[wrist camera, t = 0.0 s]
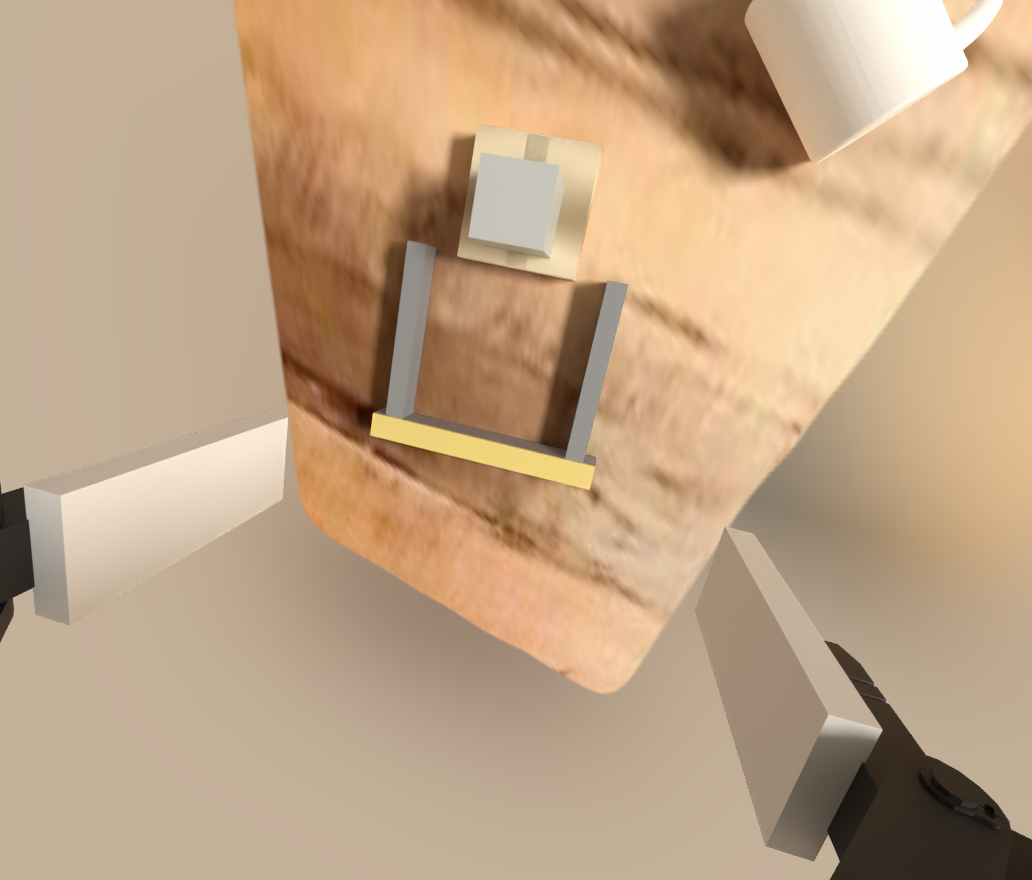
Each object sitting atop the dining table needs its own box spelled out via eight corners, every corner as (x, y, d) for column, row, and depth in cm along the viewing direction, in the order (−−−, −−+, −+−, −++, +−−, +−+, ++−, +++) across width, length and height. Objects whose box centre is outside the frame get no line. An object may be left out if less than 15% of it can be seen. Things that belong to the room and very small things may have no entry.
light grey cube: (496, 173, 36) (481, 152, 31) (564, 184, 35) (559, 165, 30) (485, 246, 37) (468, 237, 32) (550, 258, 37) (543, 250, 32)
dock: (407, 241, 40) (393, 237, 38) (639, 288, 38) (641, 287, 36) (384, 427, 45) (370, 435, 42) (590, 478, 43) (589, 489, 40)
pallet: (486, 137, 38) (477, 123, 35) (602, 157, 37) (602, 144, 34) (467, 259, 41) (457, 256, 38) (575, 281, 40) (573, 279, 37)
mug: (794, 178, 35) (847, 142, 27) (729, 43, 34) (765, -34, 26) (981, 61, 32) (1100, -17, 24) (917, -93, 30) (1021, -227, 23)
